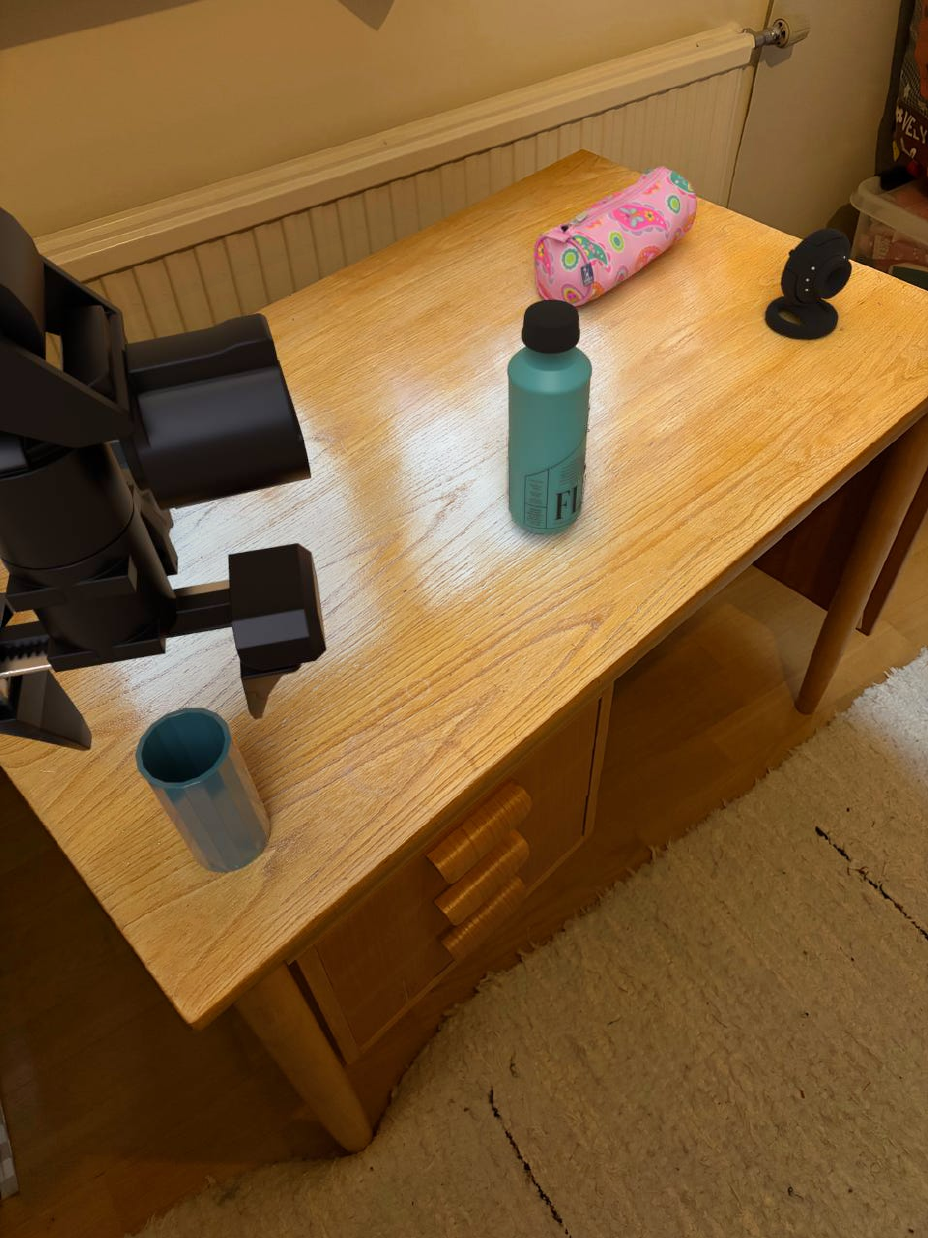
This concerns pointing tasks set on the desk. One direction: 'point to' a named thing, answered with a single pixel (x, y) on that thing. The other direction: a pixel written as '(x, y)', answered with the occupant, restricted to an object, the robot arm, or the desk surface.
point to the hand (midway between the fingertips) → (173, 727)
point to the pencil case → (614, 237)
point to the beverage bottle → (548, 419)
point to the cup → (204, 788)
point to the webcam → (812, 285)
